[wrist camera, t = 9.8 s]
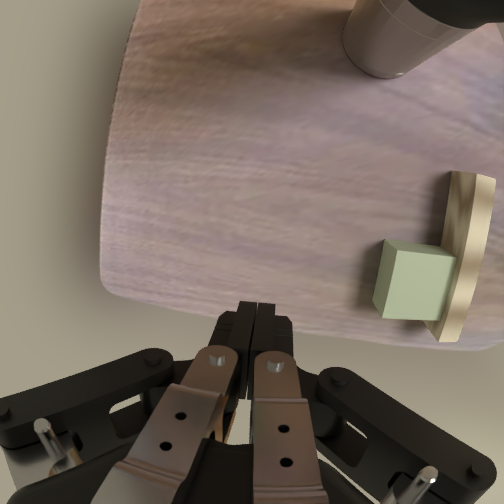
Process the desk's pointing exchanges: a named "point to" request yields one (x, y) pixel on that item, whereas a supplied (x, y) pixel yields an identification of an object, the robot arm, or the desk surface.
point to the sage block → (413, 280)
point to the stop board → (463, 247)
